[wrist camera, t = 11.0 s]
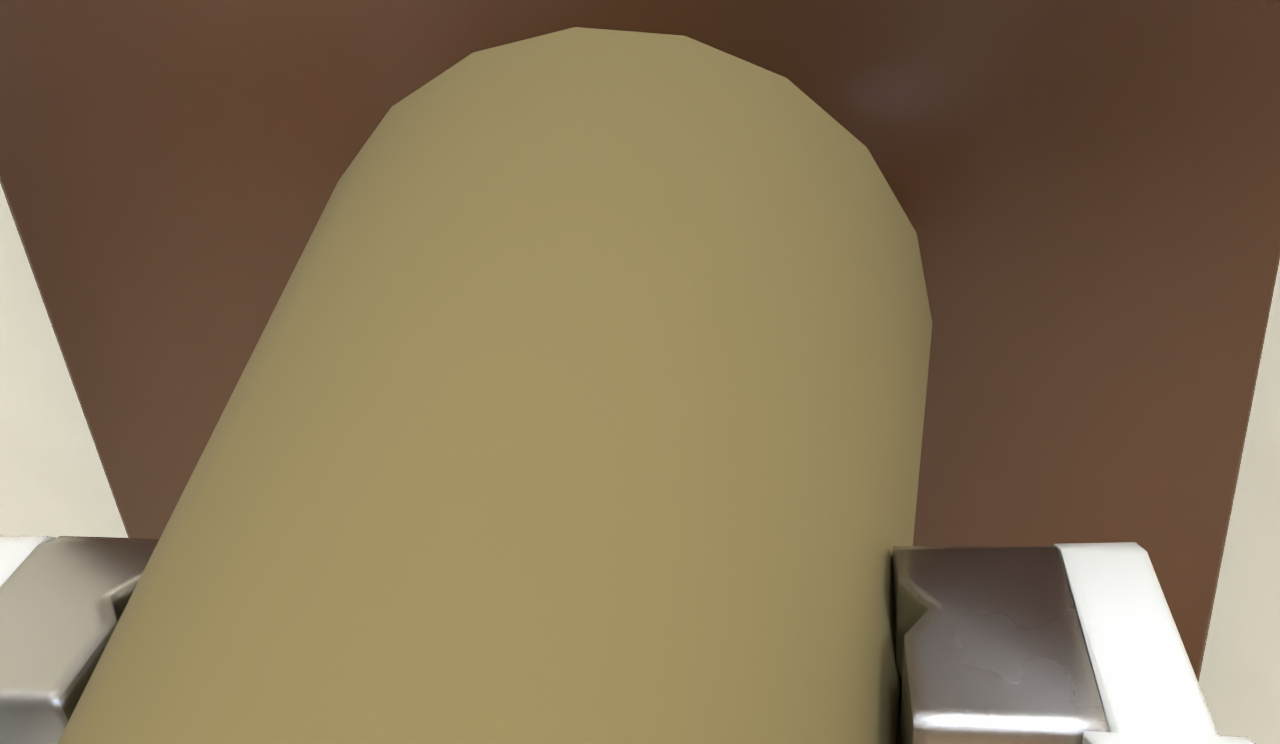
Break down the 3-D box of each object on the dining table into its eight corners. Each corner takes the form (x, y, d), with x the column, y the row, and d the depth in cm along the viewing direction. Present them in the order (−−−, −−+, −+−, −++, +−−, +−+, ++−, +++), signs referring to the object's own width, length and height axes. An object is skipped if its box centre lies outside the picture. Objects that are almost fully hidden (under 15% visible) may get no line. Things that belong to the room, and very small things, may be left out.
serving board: (296, 816, 18) (258, 903, 17) (-207, -743, 10) (-362, -806, 8) (1122, 851, 17) (1148, 950, 15) (1433, -1011, 8) (1555, -1144, 7)
